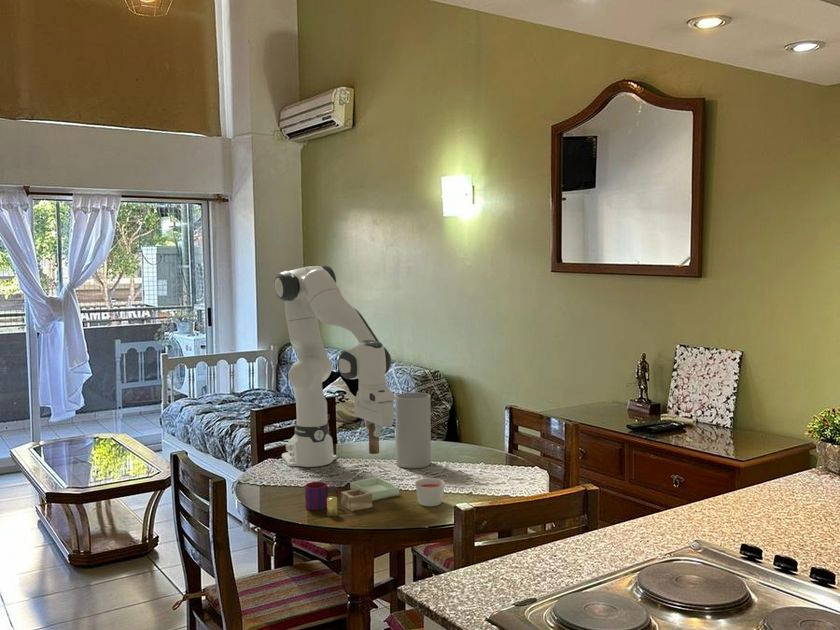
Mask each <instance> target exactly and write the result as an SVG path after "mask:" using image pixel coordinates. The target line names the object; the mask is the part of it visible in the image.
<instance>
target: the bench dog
mask: <svg viewBox="0 0 840 630" xmlns="http://www.w3.org/2000/svg"><path fill="white" fill-rule="evenodd" d="M326 516H328V517H330V516H333V517H336V516H338V499H337V497H336V496H328V497H327V508H326Z"/></svg>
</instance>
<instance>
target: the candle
mask: <svg viewBox="0 0 840 630" xmlns="http://www.w3.org/2000/svg"><path fill="white" fill-rule="evenodd" d="M414 484H415V489H416V496H417V500H418V501H417V502H418V504H419V505H421V506H423V507H436V506H439V505H441V504H442V501H443V497H444V490H445V484H446V481H444V480H443V479H440V478H433V477H432V478H430V477H429V478H420V479H418V480H416V481H415V482H414Z"/></svg>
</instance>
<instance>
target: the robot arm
mask: <svg viewBox="0 0 840 630" xmlns="http://www.w3.org/2000/svg"><path fill="white" fill-rule="evenodd" d="M273 285H274V291H275V294H276V295H277V297H278V298H279V299H280V300H282V301H283V302H284V309H285V310H284V311H285V320H286V326H287V331H288V337H289V341H290V344H291V346H292V347H293V348H294V351H295V353H296V355H297V358H298V359H297V360H296V361H295V362H294V363H293V364H292V365H291V367H289V370H288V374H287V376H288V377H287V379H288V381H289V383H290V385H291V386H292V389H293V394H294V399H295V400H294V401H295V407H296V423H295V427H294V435H293V436H292V437H291V438H290V439H289V440H288V442H287V444H285V451H286V452H283V453H282V454H281V458H282V459H283V460H284V462H285V463H286V464H287V466H288V467H302V468H303V467H305V468H314V467H323V466H327V465H329V464H331V463H333V462H334V460H336V459H337V458H338V456H337V455H336V454H334V445H333V444H334V443H333V437H332V436H331V435H329V432H330V426H329V422H328V401H327V399H326V397H325V394H324V390H323V382H325V381H326V380H327V379H328V378H329V377H330V375H331V373H332V371H333V364H332V361H331V358H329V357H328V354H327V350H326V347H325V345H324V342H323V339H322V335H321V331H320V325H319V324H320V323H319V321H320V322H322V323H324V324H325V325H329V326H335V327H339V328H341V329H342V328H343V329H345V330H347V331H349V332H351V333H352V335H353V336H354V337H355V338H356V340H357V342H358V345H356V346H355V347H352V348H351V349H346V350H344V351H342V352H341V353H340V355H339V356H338V359H337V369H338V372H339V374H340V375H341V376H342V377H343V378H344V379H346V380H356V379H357V380H358V390H357V391H356V395H355V396H354V403H353V405H354V407H353V409H354V410H353V413H354V416H355V418H360V419H362V420H364V425H365V428H366V434H367V435H369V428H368V425H369V424H375V431H374V436H375V437H379V438H381V436H382V435H381V434H382V433H381V431H382V429H383V427H385V428H386V427H391V426H393V424H394V421H395V404H394V402H393V401H395V394H394V392H393V391H391V389H390V388H389V387H388V386H387V379H386V374H388V372H389V370H390V368H391V366H392V357H391V354H390V352H389V351H388V349H387V348H386V347H385V346H384V344H383V343H382V342H381V341H379V339H378V338H377V336H376V334H375V333H374V331H373V330H372V328H371V327H370V325H369V324H368V322H367V321H366V319H365V318H364V316H363V315H362V313H360V311H358V309H357V308H355V307H353V306H352V305H351V304H350V303H349V302H348V301H347V300H346V298H345V297H344V295H342V291H341V290H340V289H339V286H338V285H337V277H336V273H335V272H334V270H333V268H331V267H330V266H329V265H325V264H324V265H323V264H322V265H321V264H320V265H313V266H312V265H311V266H310V265H309V266H303V267H299V268H295V269H292V270H284V271H282V272H279V273H277V274H276V277H275V279H274V283H273Z"/></svg>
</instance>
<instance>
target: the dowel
mask: <svg viewBox="0 0 840 630" xmlns="http://www.w3.org/2000/svg"><path fill="white" fill-rule="evenodd" d="M368 428H369V434H368V453H369V454H371V455H377V454H380V437H375V436H374V431H375V423H372V424H369V425H368Z"/></svg>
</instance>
